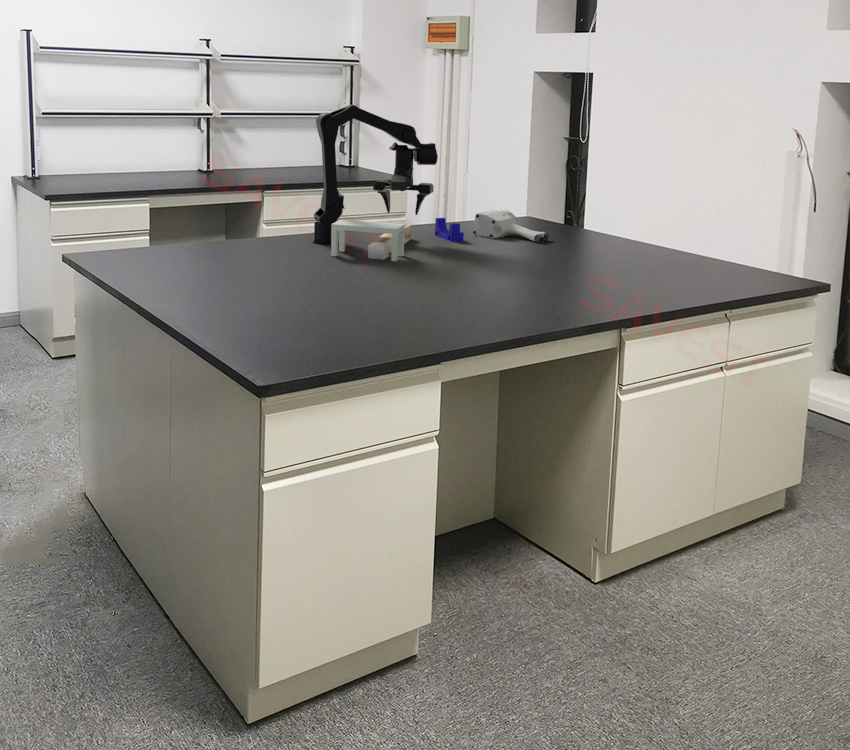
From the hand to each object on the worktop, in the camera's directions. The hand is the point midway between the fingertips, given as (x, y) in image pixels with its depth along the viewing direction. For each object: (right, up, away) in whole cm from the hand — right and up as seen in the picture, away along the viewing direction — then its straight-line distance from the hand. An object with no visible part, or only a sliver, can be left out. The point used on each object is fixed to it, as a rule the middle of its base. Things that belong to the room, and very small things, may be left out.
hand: (402, 213), depth 320 cm
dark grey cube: (-7, -17, -24) cm, 30 cm away
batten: (-2, -11, -6) cm, 13 cm away
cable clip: (+15, -7, +10) cm, 20 cm away
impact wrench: (+40, -5, +19) cm, 44 cm away
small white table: (-10, -16, -23) cm, 30 cm away
